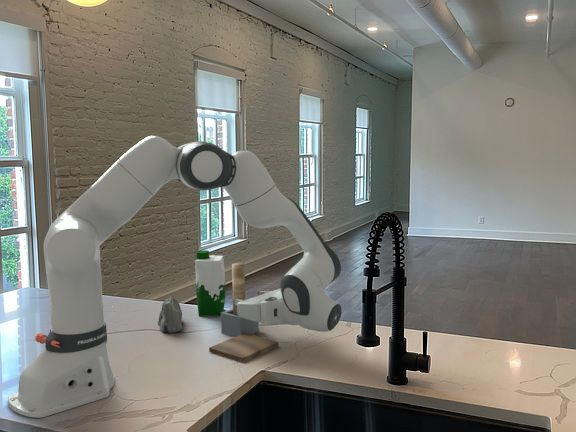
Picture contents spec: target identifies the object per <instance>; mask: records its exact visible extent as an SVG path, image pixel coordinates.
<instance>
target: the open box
mask: <svg viewBox="0 0 576 432" xmlns="http://www.w3.org/2000/svg"><path fill="white" fill-rule="evenodd" d="M259 324H260V322H255V321H251V320H247V319H244V318H241V317H239V316H237V315H233V308H230V309H228V310H225V311H223V312H222V313H221V316H220V332H221V334H224V335H226V336H230V337H233V338H234V337H236V336H239V335H241V334H244V333H248V334H252V335H254V334H255V333H257V332H259V331H260V328H259V326H260V325H259Z"/></svg>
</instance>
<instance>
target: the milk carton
mask: <svg viewBox="0 0 576 432" xmlns="http://www.w3.org/2000/svg"><path fill="white" fill-rule="evenodd" d="M195 253H196V258H195V260H194V263H195V268H194V269H195V287H196V288H195V291H196V293H195V295H196V306H197V313H198V317H221V313H222V312H224V310H225V303H226V271H225V260H224V259H225V258H224V255H215V254H214V255H210V251H209V250H205V249H203V250H197V251H196V252H195Z"/></svg>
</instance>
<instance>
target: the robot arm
mask: <svg viewBox="0 0 576 432" xmlns="http://www.w3.org/2000/svg"><path fill="white" fill-rule="evenodd" d="M173 180H174V181H175V180H177V181H179V182H181V183H182V184H183V185H185V186H187V187H188V188H190V189H194V190H199V191H212V190H215V189H218V188H223V190H225V192H226V193H227V194H228V196H229V197H230V201H231V202H232V204H233V206H234V208H235V209H236V211H237V213H238V215H239V216H240V218H241V219H242V221H244V223H245V224H247V225H249V226H250V227H253V228H255V229H268V228H269V229H270V228H273V227H277V226H282V227H286V228H287V230H288V231H290V233H291V235H292V236H293V238H294V239H295V240H296V241H297V242H298V245H300V247H301V248H302V250H303V256H302V258H301V259H300V260H299V261H298V262H297V263H296V264H295V265H293V266H292V267H291V268H290V269H289V270H288V271H287V272H286V273H285V274H284V276H282V277H281V279H280V283H279V284H280V285H279V286H280V288H277V289H274V290H271V291H265V290H260V291H258V292H257V295H256V296H253V297H251V298H246V300H244V301H243V299H240V298H239V299H235V305H236V306H237V314H238V316H239V317H241V318H244V319H247V320H251V321H255V322H259V323H261V325H262V326H266V327H268V326H274V325H290V326H299V327H301V328H303V329H307V330H310V331H315V332H322V333H325V332H332V331H333V330H334V329H335V327H336V326H337V325H338V324H339V322H340V321H341V316H342V312H343V311H342V309H343V308H342V305H341V304H340V303H339V302H337V301H336V300H333V299H331V298H330V296H329V295H328V294H327V293H326V291H325V289H326V288H327V287H328V286H330V285H331V284H332V283H333V282H334V281H336V279H337V278H339V276H341V275H340V274H341V271H342V266H341V260H340V258H339V256H338V255H337V253H336V252H335V250H333V249H332V248H331V247H330V246H329V245H328V244H327V242H326V241H325V240H324V239H323V237H322V236H321V234H320V233H319V232H318V230H317V229H316V227H315V226H314V224H313V223H312V222H311V220H310V219H309V217H308V216H307V215H306V213H305V212H304V211H303V209H302V208H301V207H300V205H299V204H298V203H297V202H296V201H294V199H292V198H291V197H286V196H284V194H283V193H282V192H281V191H280V190H279V188H278V187H277V186H276V183H275V182H274V180H273V177H272V176H271V175H270V173H269V171H268V170H267V169H266V167H265V166H264V164H263V163H262V162H261V160H260V159H259V158H258V156H257V155H256V154H255V153H254V152H252V151H250V150H247V149H246V150H237V151H234V152H232V153H229V152H227V151H226V150H224V149H223V148H221V147H219V146H218V145H216V144H214V143H212V142H207V141H203V140H202V141H201V140H195V141H191V142H187V143H183V144H181V145H177V146H176V145H175V146H174V145H172V143H170V142H169V141H168V140H167V139H166V138H163V137H161V136H157V135H150V136H146V137H145V138H144V139H141V140H140V141H139V142H137V143H136V144H135V145H134V146H132V147H131V148H129V149H127V151H126V152H125V153H123V155H121V156H120V157H119V158H118V159H117V160H116V161H115V162H114V163H113V164H112V165H110V167H109V168H108V169H107V170H106V171H105V172H104V173H103V174H102V175H101V176H100V177H99V178H98V179H97V180H96V181H95V182H94V183H93V184H92V185H91V186H90V187H89V188H88V189H87V190H86V191H84V193H82V195H79V197H78V198H77V199H76V200H75V201H74V202H73V203H72V204H71V205H70V206H68V208H66V209H65V210H64V211H63V212H62V213H61V214H60V215H59V216H58V217H57V218H56V219H54V221H53V222H52V223H51V224H50V226H49V228H48V231H47V233H46V235H45V237H44V241H43V256H44V265H45V273H46V276H45V277H46V283H47V289H48V298H49V309H50V321H51V328H50V330H49V332H48V335H47V334H43V333H41V332H40V333H39V332H38V333H36V335H35V336H34V341H35V342H37V343H38V344H45V345H44V348H43V350H42V351H41V352H40V353H39V354H38V355H37V356H36V357H35V359H33V360H32V361H31V362H30V363H29V364H28V365H27V366H26V367H25V368H24V369H23V370H22V372H21V373H20V376H19V381H18V391H16V392H13V393H12V394H10V395H9V396H8V398H7V406H8V407H9V408H10V409H11V410H12V411H14V412H15V413H17V414H19V415H21V416H24V417H28V418H39V419H41V418H44V417H48V416H51V415H54V414H58V413H61V412H64V411H67V410H70V409H73V408H77V407H80V406H83V405H86V404H89V403H92V402H95V401H99V400H102V399H105V398H108V397H109V396H110V394H111V389H112V388H113V387H114V385H115V384H116V379H115V376H114V373H113V371H112V367H111V364H110V363H111V362H110V360H109V355H108V354H109V353H108V349H107V342H108V333H107V332H108V330H107V324H106V322H105V315H104V301H103V286H102V285H103V283H102V268H101V267H102V266H101V265H102V264H101V251H100V250H101V247H100V246H101V245H102V244H103V243H104V242H105V241H106V240H107V239H108V238H110V237H111V236H112V235H113V234H114V233H115V232H116V231H119V229H120V228H121V227H122V226H124V225H125V224H126V223H128V222H129V221H130V220H131V219H132V218H133V217H134V216H135V215H136V214H137V213H138V212H139V211H140V210H141V209H142V208H143V207H144V206H145V204H147V203H148V202H149V201H150V200H151V199H152V198H153V197H154V196H155V195H156V194H157V192H158V191H159V190H161V188H162V187H163V186H164V185H166V184H167V183H168V182H170V181H173Z"/></svg>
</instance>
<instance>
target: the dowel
mask: <svg viewBox="0 0 576 432" xmlns="http://www.w3.org/2000/svg"><path fill="white" fill-rule="evenodd" d="M245 266H246V265H245V263H243V262H235V263H234V262H233V263H231V279H232V280H231V281H232V283H231V284H232V285H231V286H232V309H233V315H237V316H238V314H237V306H236V305H235V299H239V298H240V299H243V301H244V300H247V298H246V272H245V271H246V270H245V269H246V267H245Z"/></svg>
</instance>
